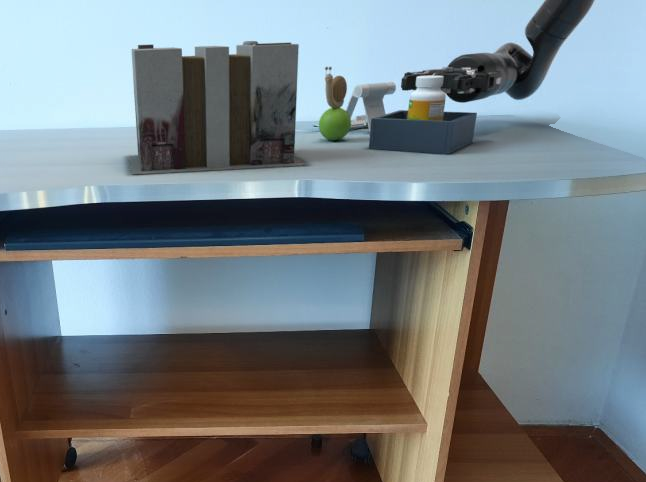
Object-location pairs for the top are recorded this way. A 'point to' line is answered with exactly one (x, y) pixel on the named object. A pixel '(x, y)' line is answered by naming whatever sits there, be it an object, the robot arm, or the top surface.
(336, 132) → the snail figurine
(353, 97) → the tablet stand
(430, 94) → the supplement bottle
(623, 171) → the top surface
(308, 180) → the top surface
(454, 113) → the bin
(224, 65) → the building model
